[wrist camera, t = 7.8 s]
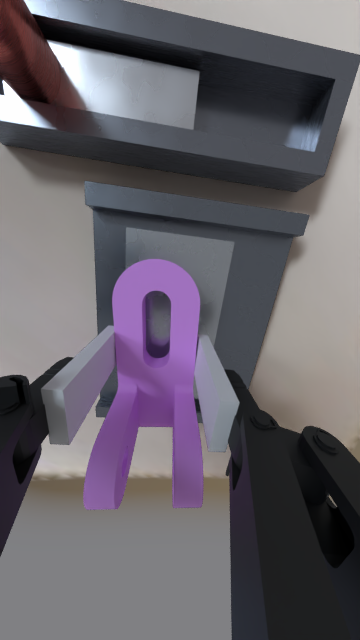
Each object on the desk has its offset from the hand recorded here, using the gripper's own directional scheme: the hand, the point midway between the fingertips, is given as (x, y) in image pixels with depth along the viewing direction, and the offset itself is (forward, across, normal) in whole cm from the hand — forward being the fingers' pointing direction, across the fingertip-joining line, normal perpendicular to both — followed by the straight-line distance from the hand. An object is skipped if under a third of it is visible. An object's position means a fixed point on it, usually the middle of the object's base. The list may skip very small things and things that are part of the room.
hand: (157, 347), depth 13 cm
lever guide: (+3, -1, +14) cm, 15 cm away
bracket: (+1, 0, 0) cm, 1 cm away
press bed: (+3, +2, +1) cm, 4 cm away
